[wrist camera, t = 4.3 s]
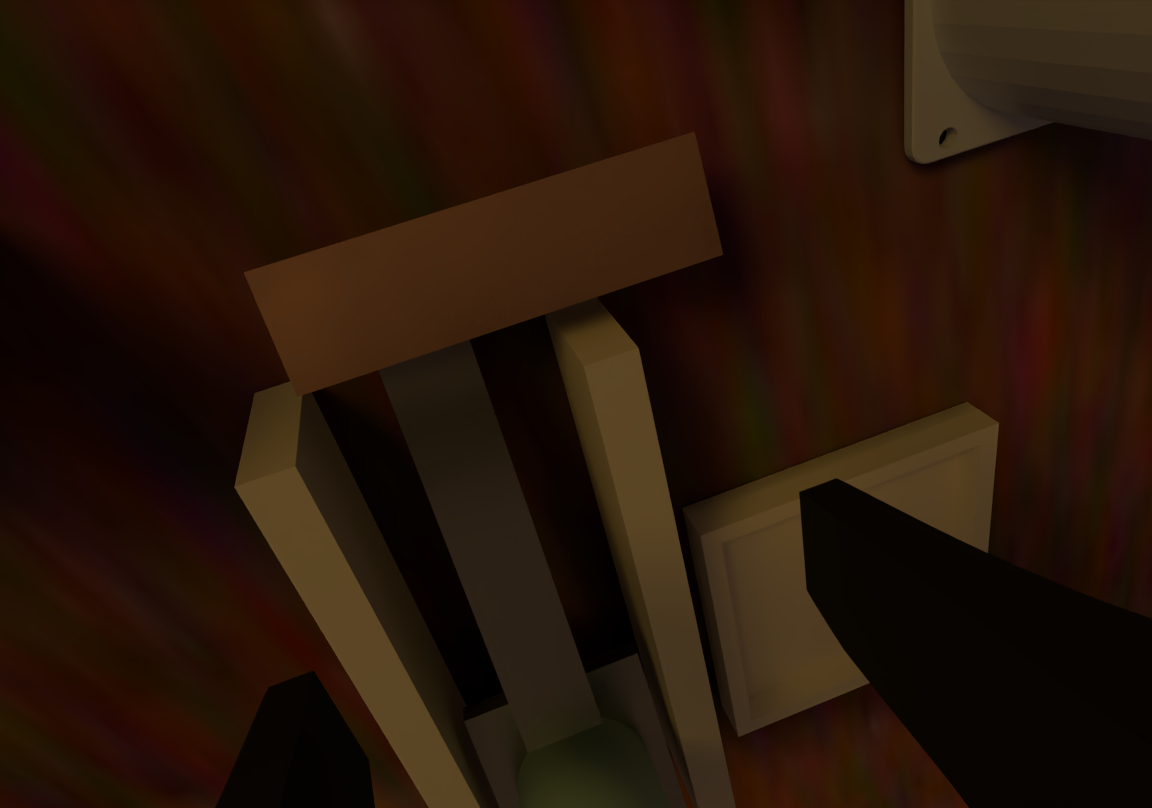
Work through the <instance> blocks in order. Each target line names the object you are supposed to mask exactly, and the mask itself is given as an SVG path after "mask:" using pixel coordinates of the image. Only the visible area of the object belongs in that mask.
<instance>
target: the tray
mask: <svg viewBox="0 0 1152 808" xmlns="http://www.w3.org/2000/svg"><path fill="white" fill-rule="evenodd" d="M998 428H999V423H998V422H997V421H995V420H994V419H992V418H991V417H989V416H988V415H986V414H985V413H983V412H982V411H980V410H979V409H977V408H976V407H974V406H973V405H971V404H970V403H968V402H965V403H963V404H960V405H957V406H955V407H952V408H949V409H946V410H944V411H941V412H938V413H936V414H933V415H930V416H928V417H925V418H922V419H920V420H917V421H914V422H912V423H909V424H906V425H904V426H901V427H898V428H895V429H893V430H890V431H887V432H885V433H882V434H879V435H877V436H874V437H871V438H869V439H866V440H863V441H861V442H858V443H855V444H853V445H850V446H847V447H844V448H842V449H839V450H836V451H834V452H831V453H828V454H826V455H823V456H820V457H818V458H815V459H812V460H810V461H807V462H804V463H802V464H799V465H796V466H793V467H791V468H788V469H785V470H783V471H780V472H777V473H775V474H772V475H769V476H767V477H764V478H761V479H759V480H756V481H753V482H751V483H748V484H745V485H742V486H740V487H737V488H734V489H732V490H729V491H726V492H724V493H721V494H718V495H716V496H713V497H710V498H708V499H705V500H702V501H700V502H697V503H694V504H691V505H689V506H686V507H683V508H682V510H683V515H684V520H685V525H686V530H687V535H688V540H689V545H690V550H691V555H692V560H693V564H694V569H695V574H696V579H697V584H698V589H699V594H700V599H701V604H702V609H703V614H704V619H705V624H706V629H707V634H708V639H709V644H710V649H711V654H712V658H713V663H714V668H715V673H716V678H717V683H718V688H719V693H720V698H721V703H722V707H723V709H724V710H725V712H726V714H727V716H728V718H729V720H730V722H731V724H732V726H733V727H734V729H735V731H736V733H737V735H738V737H740V736H742V735H745V734H747V733H749V732H752V731H754V730H757V729H759V728H761V727H764V726H766V725H769V724H771V723H774V722H776V721H778V720H781V719H783V718H786V717H788V716H791V715H793V714H795V713H798V712H800V711H803V710H805V709H807V708H810V707H812V706H815V705H817V704H820V703H822V702H824V701H827V700H829V699H832V698H834V697H837V696H839V695H841V694H844V693H846V692H849V691H851V690H853V689H856V688H858V687H861V686H863V685H866V684H868V683H870V682H869V681H868V680H867V679H866V677H865V676H864V675H863V674H862V672H861V671H860V670H859V669H858V667H857V666H856V665H855V663H854V662H853V661H852V660H851V658H850V657H849V656H848V655H847V653H846V652H845V651H844V649H843V648H842V646H841V645H840V643H839V642H838V640H837V639H836V637H835V635H834V634H833V632H832V631H831V629H830V628H829V626H828V625H827V623H826V621H825V620H824V618H823V616H822V615H821V613H820V612H819V610H818V608H817V607H816V605H815V603H814V602H813V600H812V598H811V597H810V595H809V593H808V592H807V589H806V576H805V563H804V550H803V537H802V524H801V511H800V498H799V492H800V491H803V490H806V489H808V488H811V487H814V486H817V485H819V484H822V483H825V482H827V481H830V480H833V479H836V478H838V479H840V480H842V481H844V482H846V483H848V484H850V485H852V486H854V487H856V488H858V489H860V490H862V491H864V492H865V493H867V494H869V495H871V496H873V497H875V498H877V499H879V500H881V501H883V502H885V503H887V504H889V505H891V506H893V507H895V508H897V509H899V510H901V511H902V512H904V513H906V514H908V515H910V516H912V517H914V518H916V519H918V520H920V521H922V522H924V523H926V524H928V525H930V526H932V527H934V528H936V529H938V530H940V531H942V532H944V533H947V534H949V535H951V536H953V537H955V538H957V539H959V540H961V541H963V542H965V543H967V544H969V545H972V546H974V547H976V548H978V549H980V550H982V551H984V552H987V553H988V545H989V533H990V522H991V510H992V498H993V487H994V475H995V463H996V452H997V440H998Z"/></svg>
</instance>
